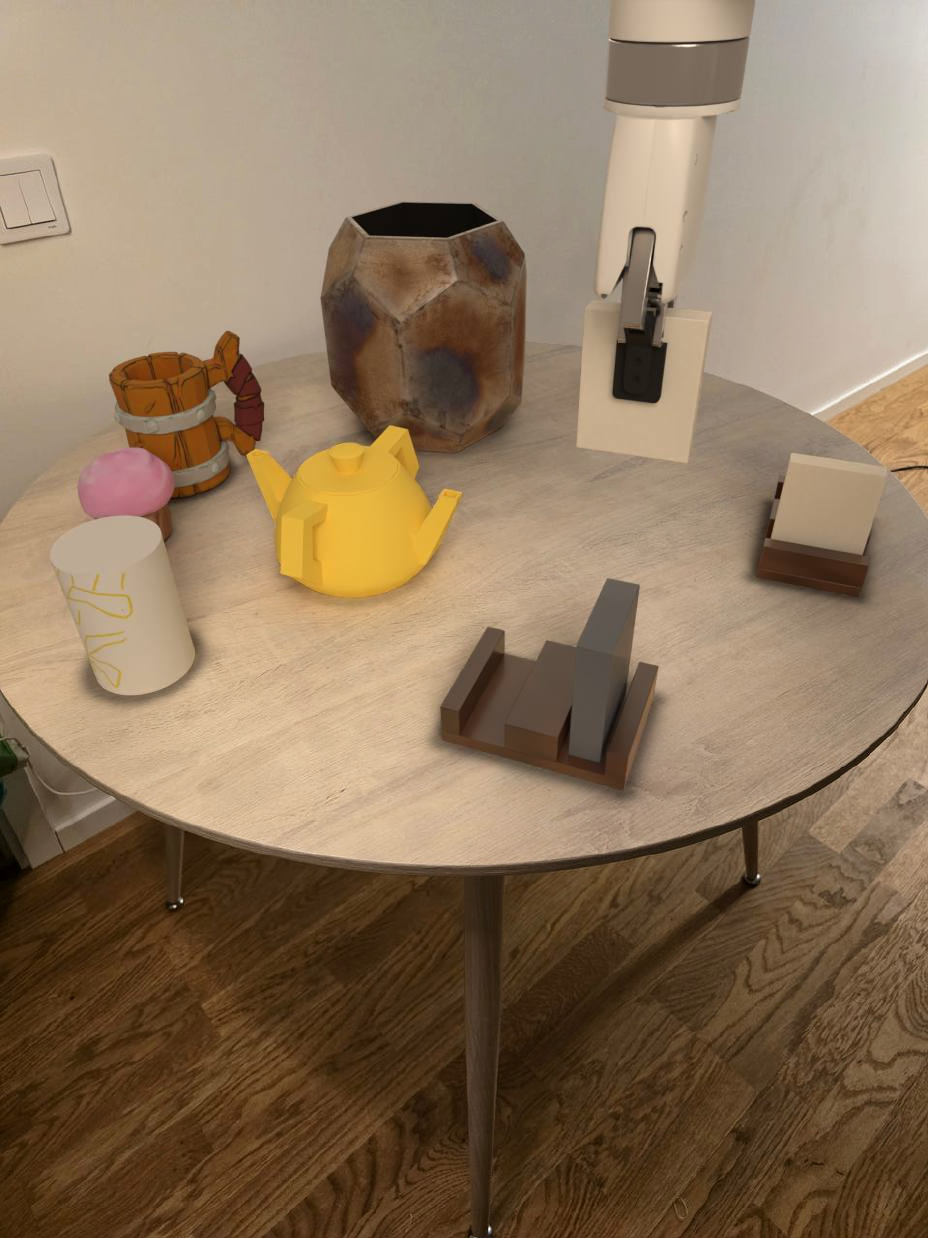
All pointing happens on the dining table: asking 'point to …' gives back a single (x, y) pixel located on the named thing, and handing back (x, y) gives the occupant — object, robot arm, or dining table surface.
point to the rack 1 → (539, 710)
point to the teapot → (354, 516)
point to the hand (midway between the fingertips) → (640, 389)
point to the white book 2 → (828, 503)
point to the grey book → (602, 669)
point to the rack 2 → (810, 562)
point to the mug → (189, 411)
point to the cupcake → (128, 487)
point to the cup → (124, 603)
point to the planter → (427, 321)
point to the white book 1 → (631, 422)
